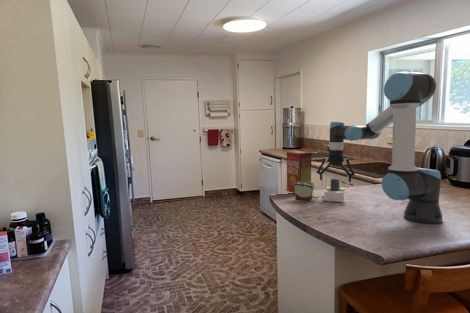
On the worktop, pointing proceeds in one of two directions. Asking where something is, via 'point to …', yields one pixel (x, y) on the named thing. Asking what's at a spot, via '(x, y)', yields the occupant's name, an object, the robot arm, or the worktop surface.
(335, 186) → the dark gray rounded peg
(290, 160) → the food packaging
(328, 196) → the socket block
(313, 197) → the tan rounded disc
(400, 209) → the worktop surface
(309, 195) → the food container
